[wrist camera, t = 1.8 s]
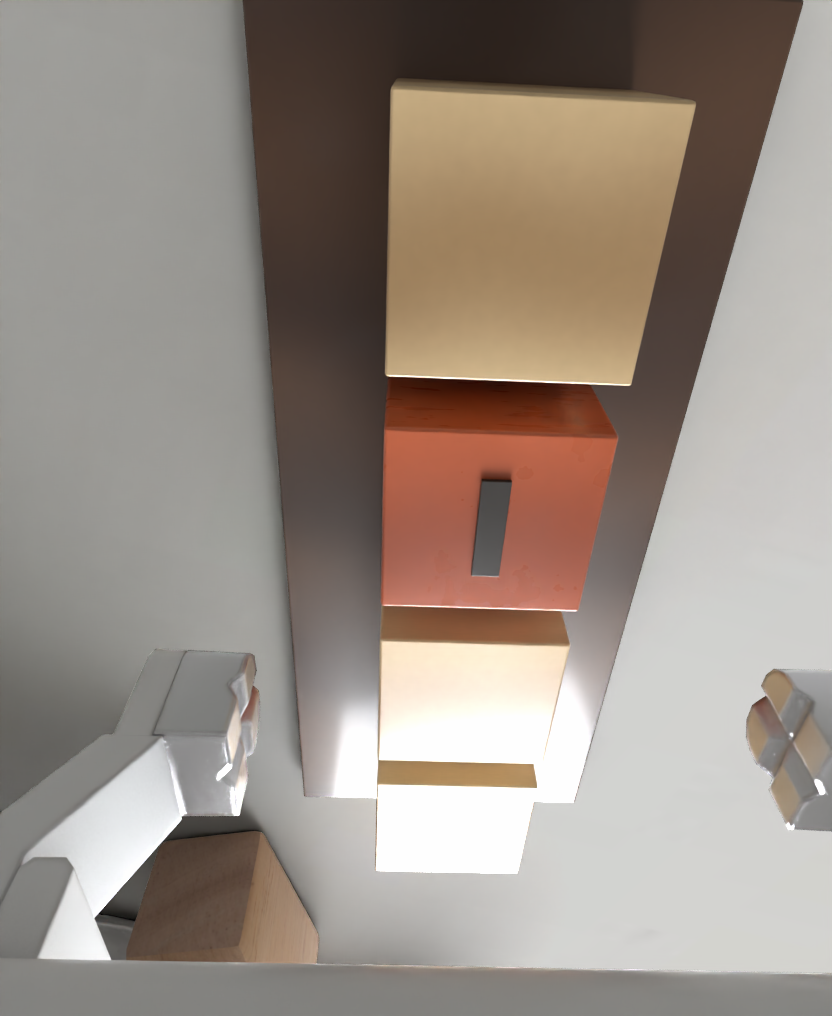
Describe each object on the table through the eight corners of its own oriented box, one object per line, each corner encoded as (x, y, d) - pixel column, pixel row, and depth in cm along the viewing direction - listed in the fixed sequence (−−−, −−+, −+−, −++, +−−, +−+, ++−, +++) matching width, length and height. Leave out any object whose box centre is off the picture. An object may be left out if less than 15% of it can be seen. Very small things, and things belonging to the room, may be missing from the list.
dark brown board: (248, -28, 13) (183, -60, 9) (785, 2, 13) (929, -19, 9) (306, 778, 26) (289, 894, 22) (570, 784, 26) (595, 900, 23)
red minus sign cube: (389, 358, 16) (383, 430, 13) (582, 366, 16) (621, 438, 13) (385, 518, 18) (380, 610, 15) (552, 524, 18) (579, 615, 15)
